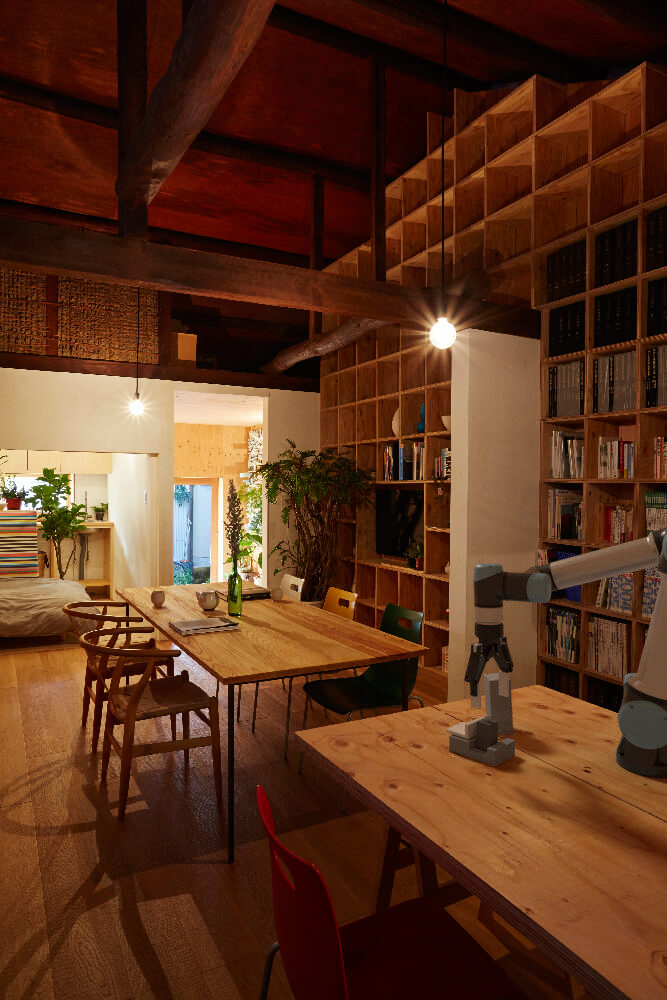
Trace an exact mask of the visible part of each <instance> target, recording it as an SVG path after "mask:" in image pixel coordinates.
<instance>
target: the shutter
mask: <svg viewBox="0 0 667 1000" xmlns="http://www.w3.org/2000/svg"><path fill="white" fill-rule="evenodd" d="M483 718H484V716H480V717H478V718H475V719H473V720H471V721H469V722H465V721H462V722H460V723H457V724H454V725H453V726H452V725H451V726H450V727H447V728H446V729H445V732H446V733H449V734H450V735H452V734H454V735H457V736H460V737H463V738H466V739H470V738H472V737H474V736H476V735H477V721H479V720H481V719H483Z"/></svg>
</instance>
